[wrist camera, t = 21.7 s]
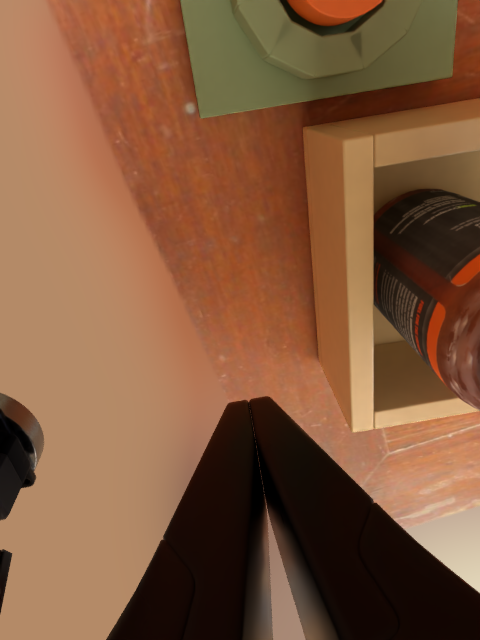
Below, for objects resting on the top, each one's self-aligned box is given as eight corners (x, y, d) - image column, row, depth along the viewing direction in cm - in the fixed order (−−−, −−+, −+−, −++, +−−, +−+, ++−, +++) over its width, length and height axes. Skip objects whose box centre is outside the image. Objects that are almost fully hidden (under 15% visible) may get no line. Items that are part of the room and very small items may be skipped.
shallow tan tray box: (318, 361, 24) (351, 433, 19) (302, 127, 18) (342, 139, 13) (488, 332, 24) (567, 396, 19) (523, 90, 19) (648, 89, 13)
